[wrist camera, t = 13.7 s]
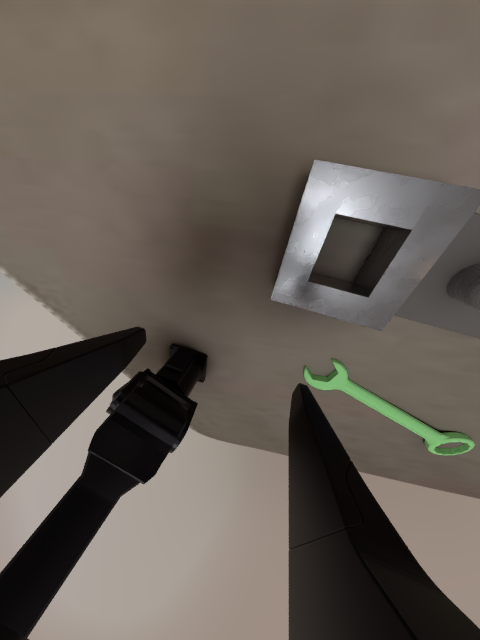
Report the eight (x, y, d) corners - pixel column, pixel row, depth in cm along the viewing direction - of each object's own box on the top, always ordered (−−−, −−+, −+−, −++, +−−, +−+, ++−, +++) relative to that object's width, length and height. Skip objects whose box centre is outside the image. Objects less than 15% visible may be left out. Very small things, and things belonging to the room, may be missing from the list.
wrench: (320, 346, 23) (296, 369, 26) (322, 355, 22) (296, 378, 24) (480, 439, 23) (439, 452, 26) (494, 455, 22) (448, 467, 24)
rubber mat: (478, 336, 17) (482, 339, 17) (382, 310, 18) (384, 312, 18) (596, 238, 12) (604, 238, 12) (456, 210, 13) (460, 210, 13)
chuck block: (365, 311, 18) (381, 330, 15) (274, 286, 20) (270, 299, 16) (440, 198, 13) (491, 191, 10) (309, 173, 14) (314, 159, 11)
